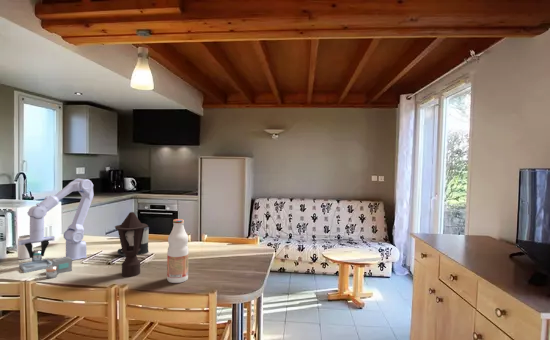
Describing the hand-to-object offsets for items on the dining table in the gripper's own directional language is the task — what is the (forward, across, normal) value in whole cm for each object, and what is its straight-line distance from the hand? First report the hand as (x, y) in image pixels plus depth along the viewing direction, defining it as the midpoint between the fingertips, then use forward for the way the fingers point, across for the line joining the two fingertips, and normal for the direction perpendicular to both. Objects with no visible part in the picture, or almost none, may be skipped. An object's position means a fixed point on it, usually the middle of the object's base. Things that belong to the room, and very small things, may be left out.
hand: (36, 256), depth 158 cm
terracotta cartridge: (+5, -2, +21) cm, 22 cm away
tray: (+5, 0, 0) cm, 5 cm away
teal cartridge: (+2, 0, 0) cm, 2 cm away
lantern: (+5, -29, +42) cm, 51 cm away
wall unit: (+5, -7, +16) cm, 18 cm away
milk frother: (+5, -44, +11) cm, 46 cm away
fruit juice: (+5, -41, +64) cm, 76 cm away
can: (+5, +1, -21) cm, 22 cm away
